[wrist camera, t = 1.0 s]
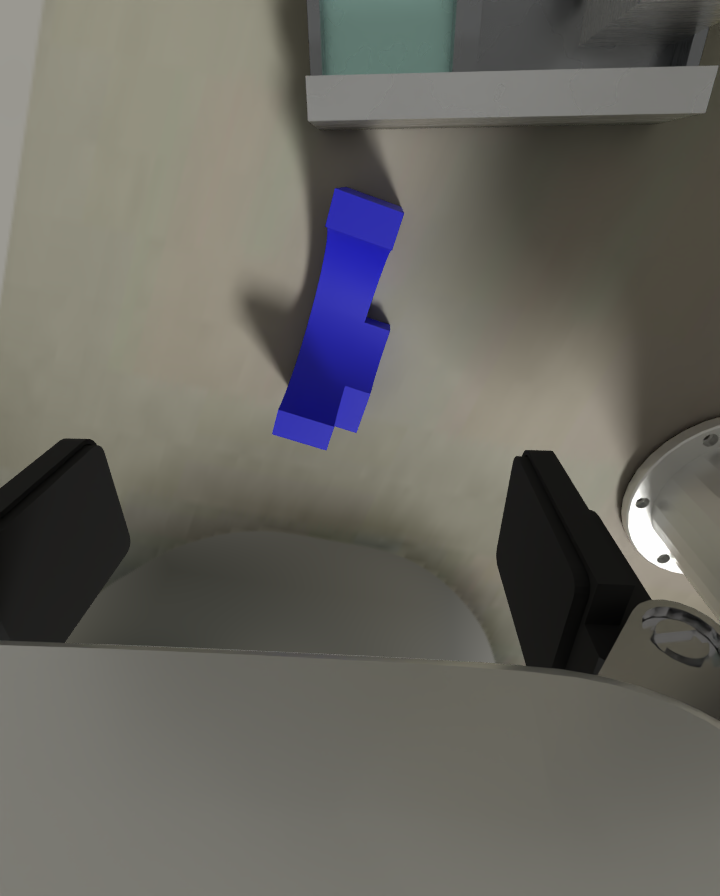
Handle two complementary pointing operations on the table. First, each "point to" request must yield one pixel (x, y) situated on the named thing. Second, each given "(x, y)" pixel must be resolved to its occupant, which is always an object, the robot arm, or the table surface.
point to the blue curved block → (341, 323)
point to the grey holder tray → (506, 62)
